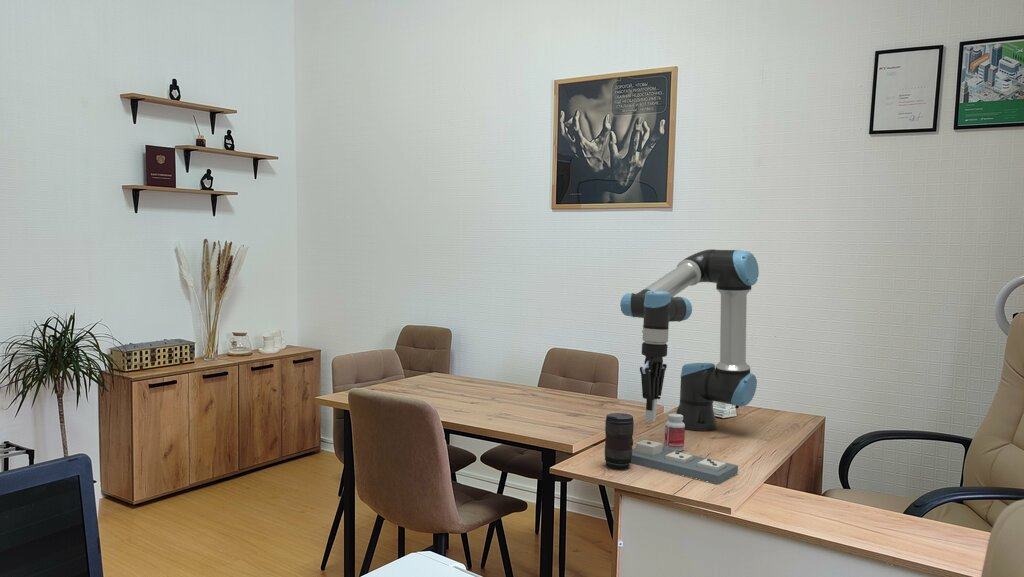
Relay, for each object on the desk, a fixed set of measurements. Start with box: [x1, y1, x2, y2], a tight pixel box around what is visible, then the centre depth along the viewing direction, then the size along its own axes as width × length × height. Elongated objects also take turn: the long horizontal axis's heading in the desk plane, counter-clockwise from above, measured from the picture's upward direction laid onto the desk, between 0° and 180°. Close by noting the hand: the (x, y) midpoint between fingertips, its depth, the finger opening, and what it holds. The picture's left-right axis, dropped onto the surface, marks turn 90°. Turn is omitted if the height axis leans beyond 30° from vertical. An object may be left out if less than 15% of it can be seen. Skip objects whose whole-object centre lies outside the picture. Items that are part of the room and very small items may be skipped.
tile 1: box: [634, 439, 664, 456], centre depth 218 cm, size 6×6×4 cm
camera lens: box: [604, 412, 635, 471], centre depth 210 cm, size 8×8×15 cm
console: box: [630, 447, 739, 485], centre depth 212 cm, size 14×30×2 cm, turn 51°
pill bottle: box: [663, 413, 686, 452], centre depth 231 cm, size 6×6×11 cm
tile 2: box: [665, 451, 693, 464], centre depth 212 cm, size 6×6×4 cm
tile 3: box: [697, 458, 727, 471], centre depth 206 cm, size 6×6×4 cm
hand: (650, 420), depth 218 cm, fingers closed
